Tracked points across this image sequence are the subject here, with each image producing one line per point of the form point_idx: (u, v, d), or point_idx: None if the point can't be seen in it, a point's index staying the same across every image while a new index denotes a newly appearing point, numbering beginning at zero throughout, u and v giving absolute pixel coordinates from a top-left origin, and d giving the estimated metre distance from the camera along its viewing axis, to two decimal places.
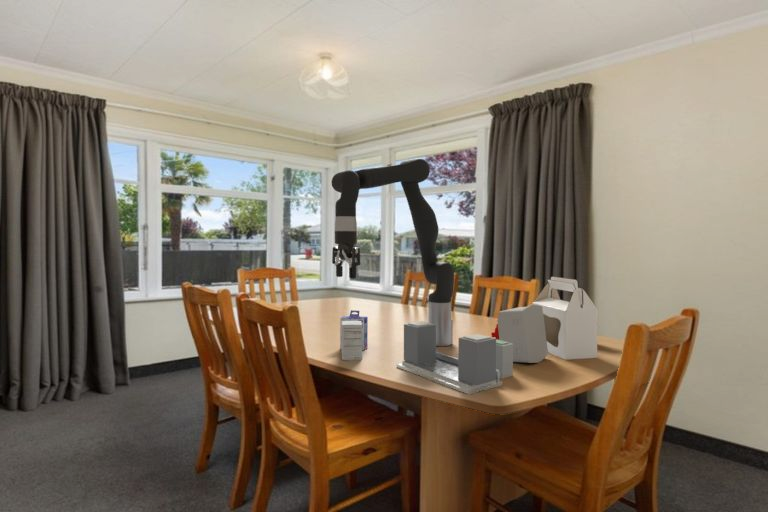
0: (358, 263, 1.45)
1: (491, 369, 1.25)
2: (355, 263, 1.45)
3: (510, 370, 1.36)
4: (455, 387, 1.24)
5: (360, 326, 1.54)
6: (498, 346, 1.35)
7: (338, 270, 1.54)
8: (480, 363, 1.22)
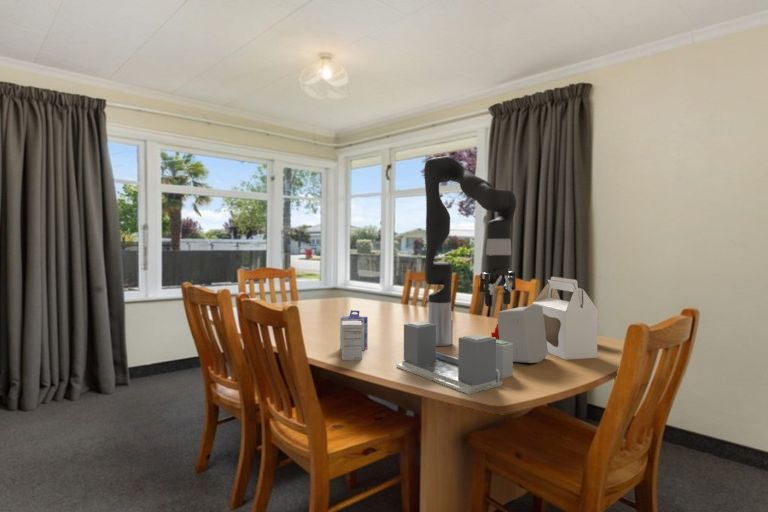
0: None
1: (491, 369, 1.25)
2: None
3: (510, 370, 1.36)
4: (455, 387, 1.24)
5: (360, 326, 1.54)
6: (498, 346, 1.35)
7: None
8: (480, 363, 1.22)
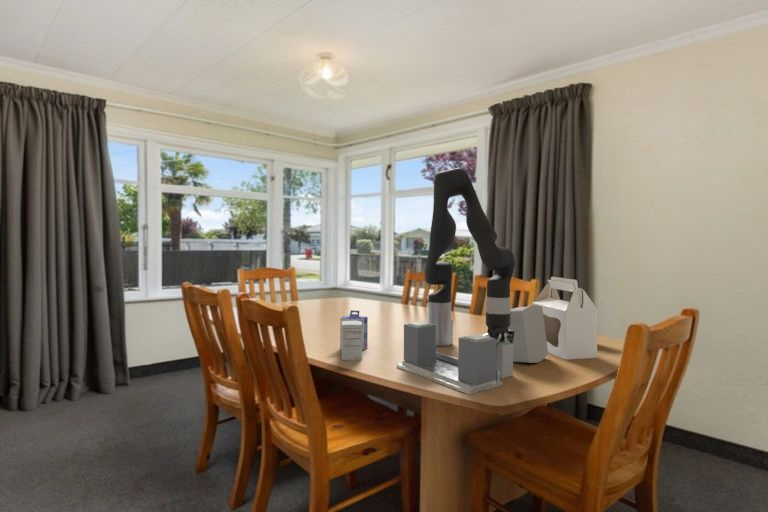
0: None
1: (491, 369, 1.25)
2: None
3: (510, 370, 1.36)
4: (455, 387, 1.24)
5: (360, 326, 1.54)
6: (498, 346, 1.35)
7: None
8: (480, 363, 1.22)
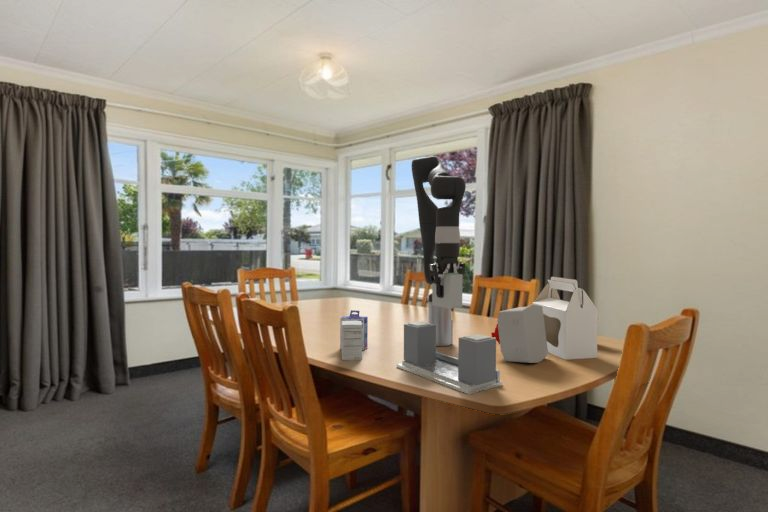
0: None
1: (491, 369, 1.25)
2: None
3: (459, 301, 1.33)
4: (455, 387, 1.24)
5: (360, 326, 1.54)
6: (446, 276, 1.32)
7: None
8: (480, 363, 1.22)
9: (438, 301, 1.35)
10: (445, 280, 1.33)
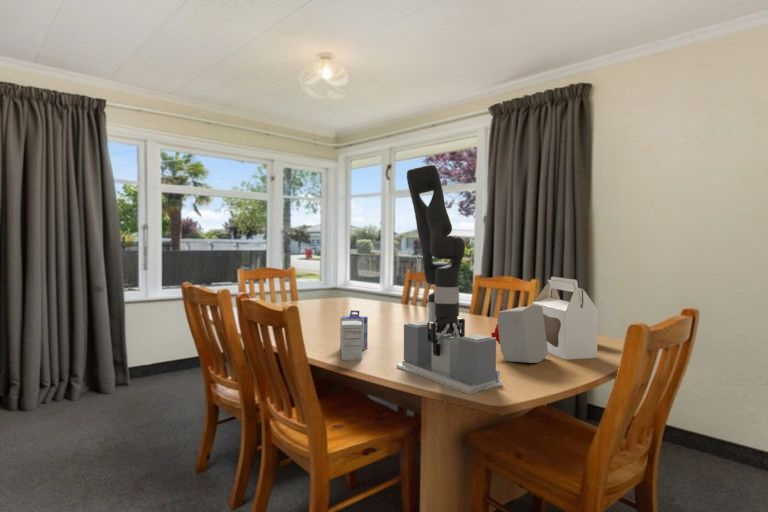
0: None
1: (491, 369, 1.25)
2: None
3: None
4: (455, 387, 1.24)
5: (360, 326, 1.54)
6: (446, 341, 1.33)
7: None
8: (480, 363, 1.22)
9: (438, 364, 1.36)
10: (444, 345, 1.33)
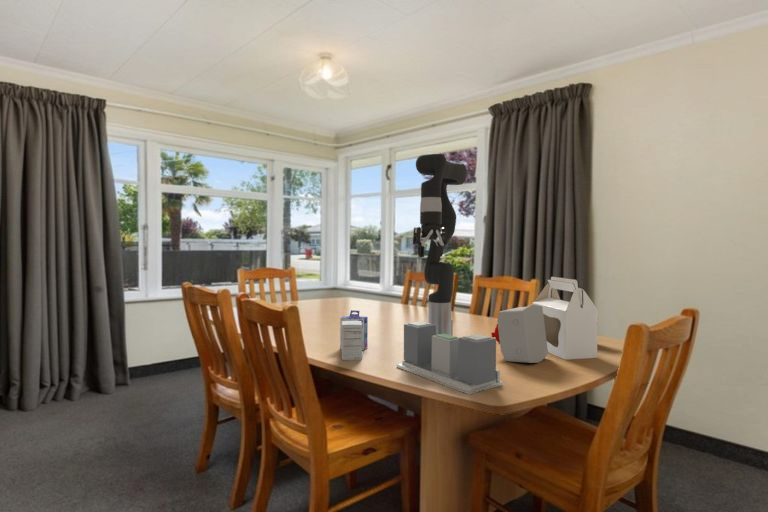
0: None
1: (491, 369, 1.25)
2: None
3: None
4: (455, 387, 1.24)
5: (360, 326, 1.54)
6: (446, 341, 1.33)
7: None
8: (480, 363, 1.22)
9: (438, 364, 1.36)
10: (444, 345, 1.33)
